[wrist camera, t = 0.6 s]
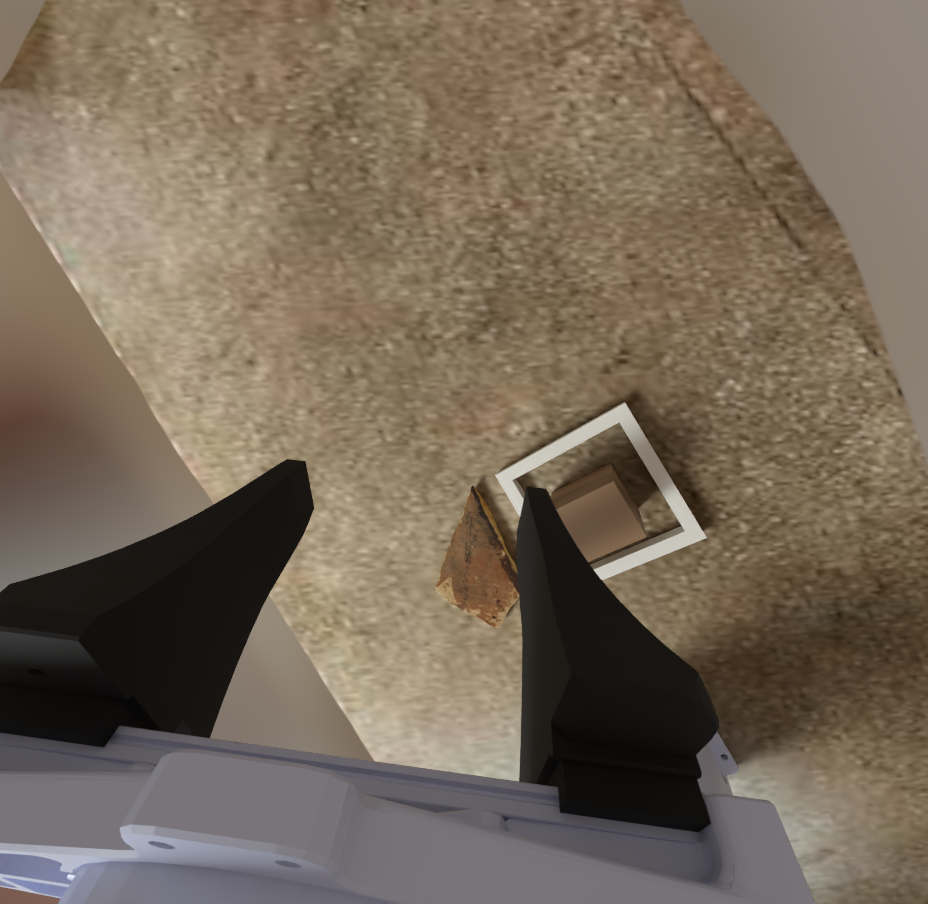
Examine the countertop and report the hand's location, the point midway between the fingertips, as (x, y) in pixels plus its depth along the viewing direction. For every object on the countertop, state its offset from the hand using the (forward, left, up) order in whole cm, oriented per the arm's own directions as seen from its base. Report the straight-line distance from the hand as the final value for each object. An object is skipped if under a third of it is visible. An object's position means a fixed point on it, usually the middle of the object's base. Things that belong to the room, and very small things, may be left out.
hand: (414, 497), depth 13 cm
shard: (-8, +10, -21) cm, 25 cm away
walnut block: (-8, -2, -20) cm, 22 cm away
